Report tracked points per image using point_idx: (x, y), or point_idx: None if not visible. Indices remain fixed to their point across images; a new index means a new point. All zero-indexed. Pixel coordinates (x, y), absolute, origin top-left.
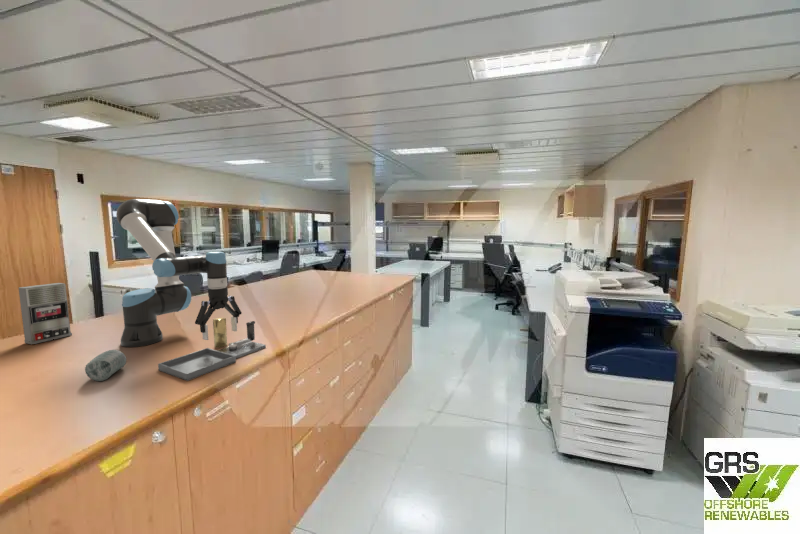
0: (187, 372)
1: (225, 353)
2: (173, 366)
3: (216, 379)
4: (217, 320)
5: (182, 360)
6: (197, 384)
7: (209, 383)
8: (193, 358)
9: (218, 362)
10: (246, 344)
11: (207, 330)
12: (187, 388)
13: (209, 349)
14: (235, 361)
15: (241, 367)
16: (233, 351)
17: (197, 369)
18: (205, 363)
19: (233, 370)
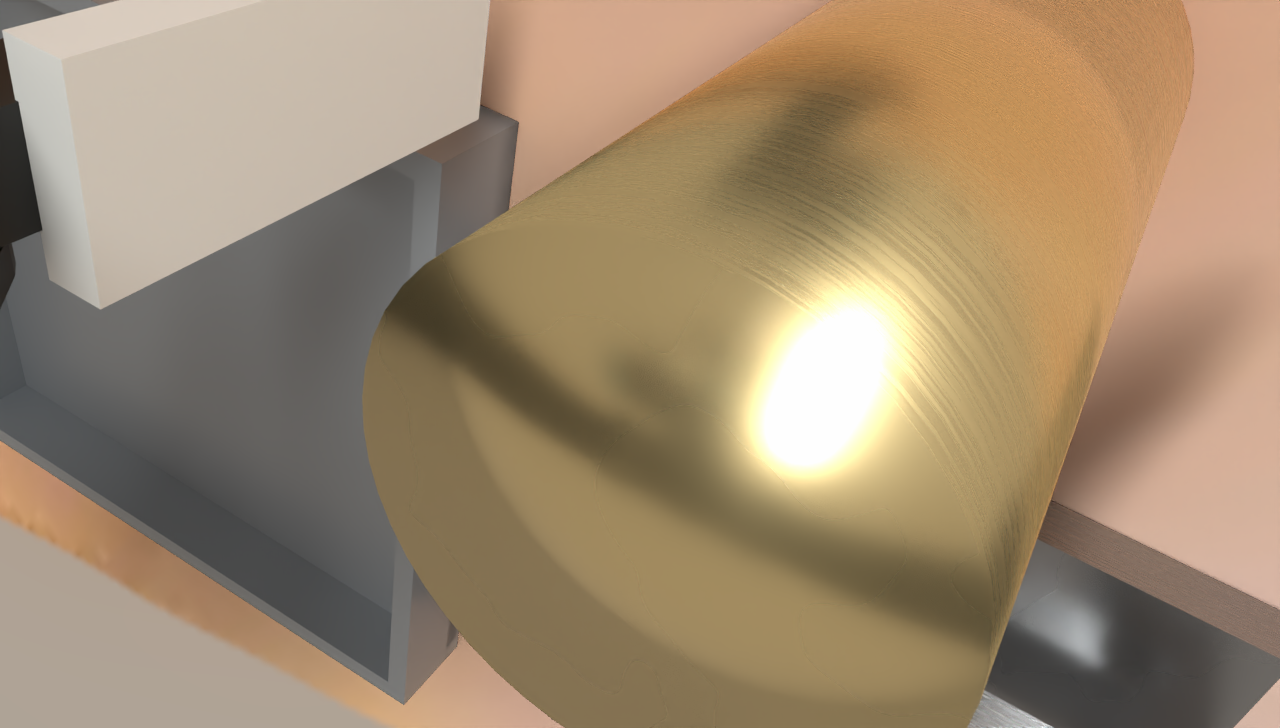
0: (59, 305)
1: (403, 573)
2: (11, 11)
3: (169, 590)
4: (429, 548)
5: None
6: (62, 488)
7: (116, 565)
8: None
9: (223, 581)
10: None
11: (268, 213)
12: (4, 449)
13: (413, 251)
14: (446, 650)
15: (392, 720)
16: None
17: (45, 462)
18: (246, 364)
19: (322, 669)
